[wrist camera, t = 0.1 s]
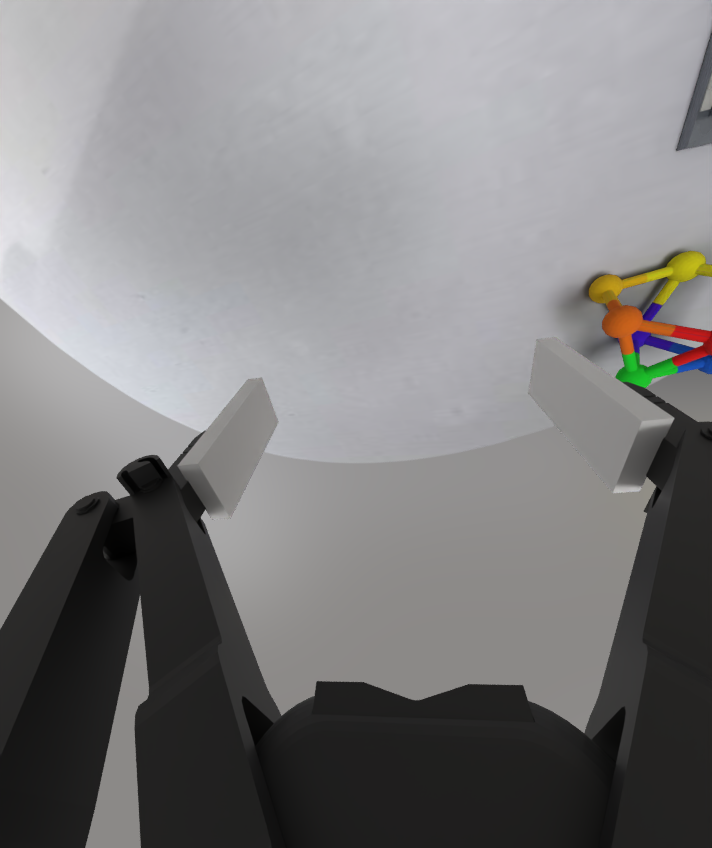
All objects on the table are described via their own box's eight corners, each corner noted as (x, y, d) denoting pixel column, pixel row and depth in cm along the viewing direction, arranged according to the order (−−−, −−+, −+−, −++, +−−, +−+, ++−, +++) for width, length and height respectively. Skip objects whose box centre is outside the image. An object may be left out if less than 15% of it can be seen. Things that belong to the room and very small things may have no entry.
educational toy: (577, 371, 44) (637, 435, 32) (562, 286, 38) (630, 325, 26) (720, 324, 38) (860, 382, 26) (729, 214, 32) (917, 223, 20)
